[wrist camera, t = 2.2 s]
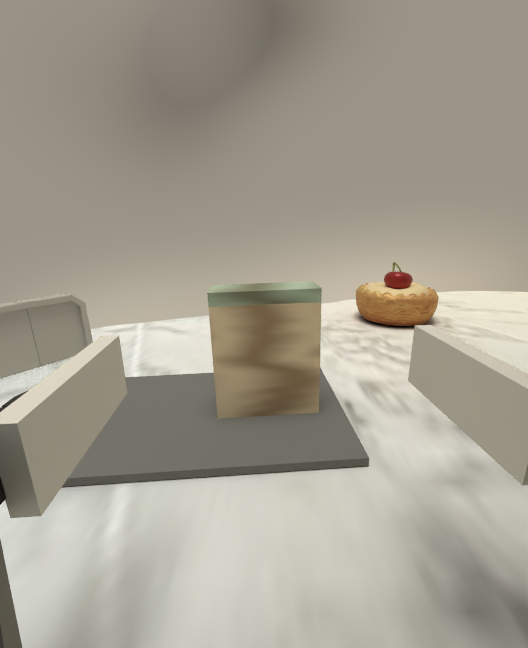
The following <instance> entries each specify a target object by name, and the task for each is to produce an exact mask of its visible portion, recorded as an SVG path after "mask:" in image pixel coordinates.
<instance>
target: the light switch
mask: <svg viewBox="0 0 528 648" xmlns="http://www.w3.org/2000/svg"><path fill="white" fill-rule="evenodd" d="M92 342H93V341H92V336H91V331H90V325H89V321H88V316H87V310H86V305H85V303H84V302H83V301H81V300H79V299H78V298H76V297H75V296H73V295H70V294H67V293H66V294H60V295H54V296H47V297H41V298H35V299H26V300H20V301H14V302H11V303H4V304H0V378H3V377H7V376H10V375H13V374H17V373H20V372H23V371H27V370H30V369H33V368H37V367H40V366H43V365H47V364H50V363H53V362H57V361H60V360H63V359H67V358H70V357H73V356H75V355H77V354H78V353H79V352H81V351H82V350H83V349H85V348H86V347H87V346H88V345H90V344H91V343H92Z"/></svg>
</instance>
